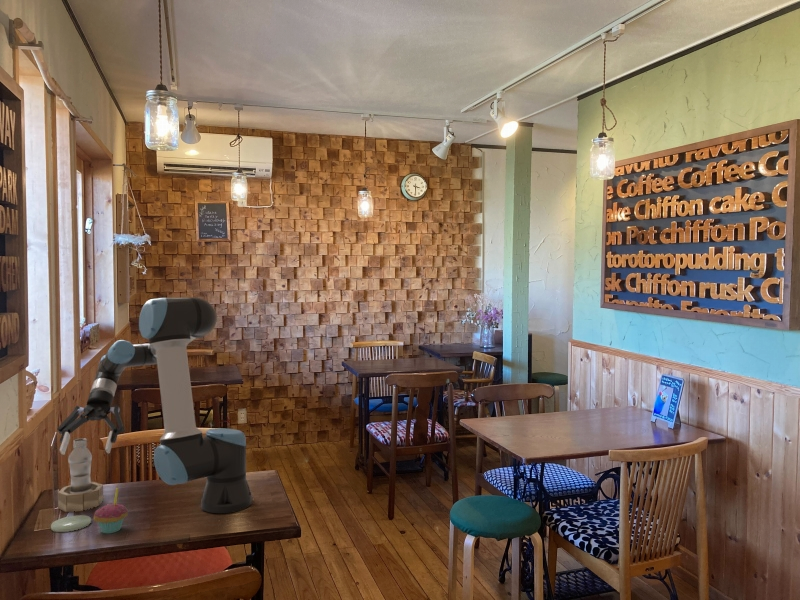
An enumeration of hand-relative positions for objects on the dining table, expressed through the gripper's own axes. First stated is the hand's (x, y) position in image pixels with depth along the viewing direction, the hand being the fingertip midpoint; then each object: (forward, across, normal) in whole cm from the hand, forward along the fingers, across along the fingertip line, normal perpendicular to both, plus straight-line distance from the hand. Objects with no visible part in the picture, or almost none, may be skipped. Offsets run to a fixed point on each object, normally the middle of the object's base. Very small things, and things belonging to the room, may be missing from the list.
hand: (84, 451), depth 194 cm
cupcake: (+29, -17, +8) cm, 35 cm away
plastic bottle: (+14, -1, -7) cm, 16 cm away
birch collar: (+14, -1, -7) cm, 16 cm away
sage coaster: (+26, -4, +5) cm, 26 cm away
